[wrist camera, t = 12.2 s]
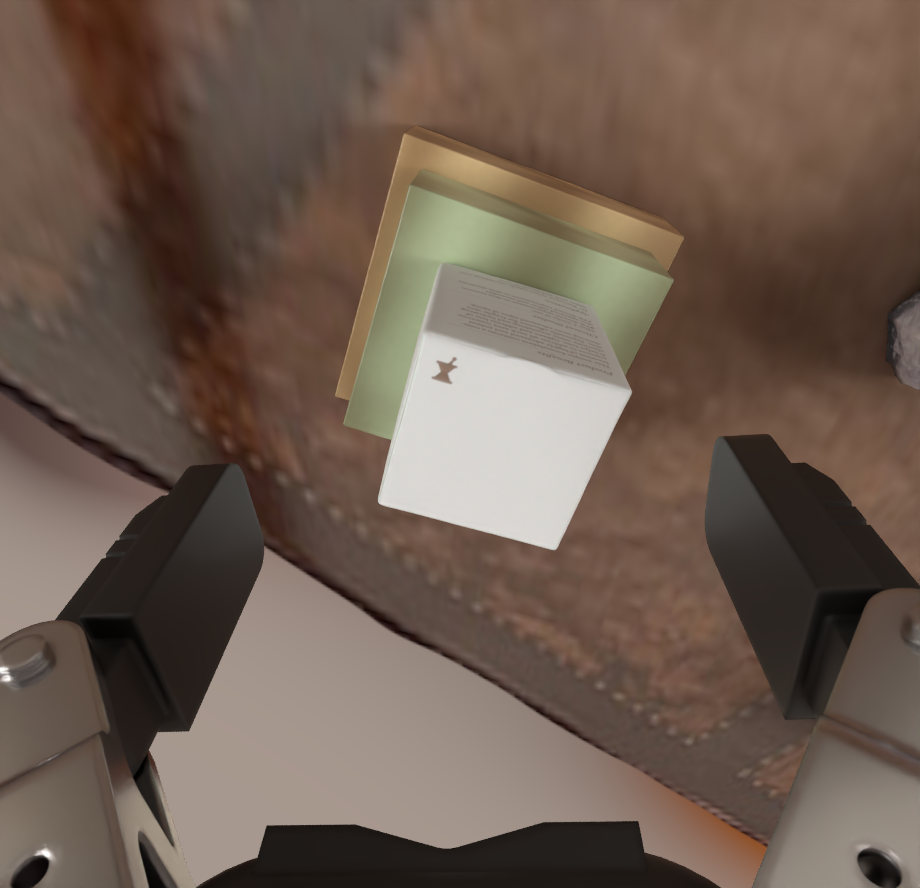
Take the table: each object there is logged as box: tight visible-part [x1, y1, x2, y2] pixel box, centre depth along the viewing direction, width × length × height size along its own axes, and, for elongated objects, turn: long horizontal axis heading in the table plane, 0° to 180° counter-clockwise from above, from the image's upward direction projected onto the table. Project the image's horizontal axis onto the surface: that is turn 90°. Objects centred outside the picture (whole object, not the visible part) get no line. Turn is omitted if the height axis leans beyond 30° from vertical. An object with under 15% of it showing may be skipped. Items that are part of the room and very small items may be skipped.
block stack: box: [335, 126, 684, 440], centre depth 29 cm, size 12×12×8 cm
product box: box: [378, 262, 632, 550], centre depth 22 cm, size 6×6×7 cm
